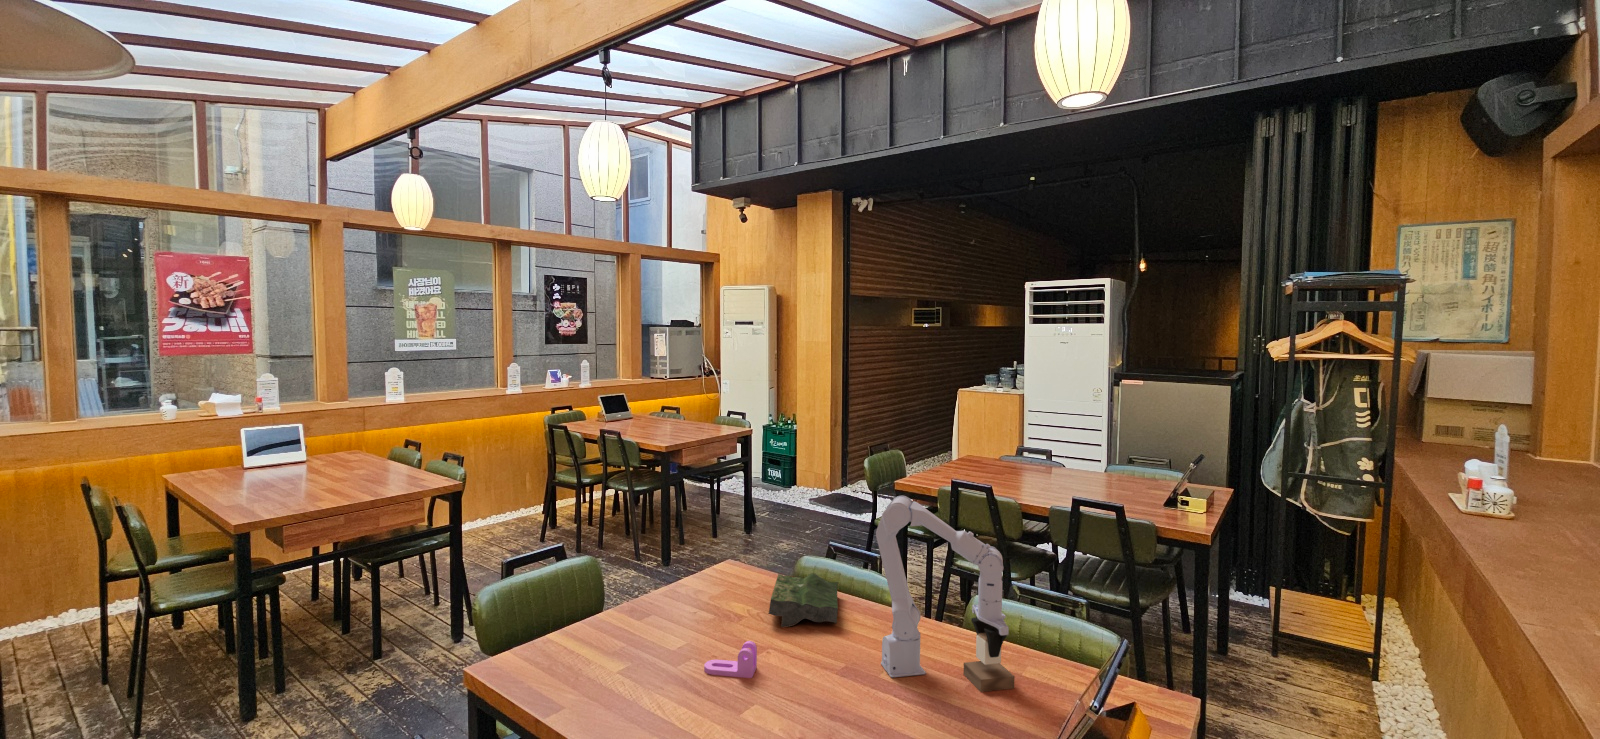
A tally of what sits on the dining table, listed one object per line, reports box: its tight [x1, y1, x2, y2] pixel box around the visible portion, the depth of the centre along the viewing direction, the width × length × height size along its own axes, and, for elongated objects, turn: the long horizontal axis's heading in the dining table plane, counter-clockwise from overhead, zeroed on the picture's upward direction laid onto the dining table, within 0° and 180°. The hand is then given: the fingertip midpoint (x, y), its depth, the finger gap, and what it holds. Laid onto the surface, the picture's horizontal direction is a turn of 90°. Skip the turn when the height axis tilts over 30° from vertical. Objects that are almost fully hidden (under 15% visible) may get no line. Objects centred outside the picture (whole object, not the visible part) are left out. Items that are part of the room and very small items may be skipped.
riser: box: [962, 660, 1016, 693], centre depth 164 cm, size 9×9×3 cm
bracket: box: [703, 640, 758, 679], centre depth 167 cm, size 13×6×7 cm, turn 82°
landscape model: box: [768, 572, 839, 628], centre depth 207 cm, size 26×20×10 cm
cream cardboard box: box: [975, 633, 1002, 665], centre depth 163 cm, size 4×4×6 cm
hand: (989, 652), depth 164 cm, fingers closed on cream cardboard box, 4 cm apart
